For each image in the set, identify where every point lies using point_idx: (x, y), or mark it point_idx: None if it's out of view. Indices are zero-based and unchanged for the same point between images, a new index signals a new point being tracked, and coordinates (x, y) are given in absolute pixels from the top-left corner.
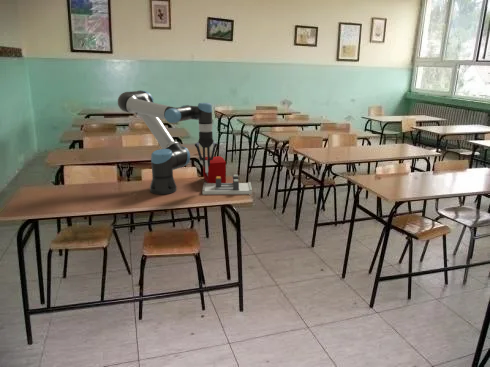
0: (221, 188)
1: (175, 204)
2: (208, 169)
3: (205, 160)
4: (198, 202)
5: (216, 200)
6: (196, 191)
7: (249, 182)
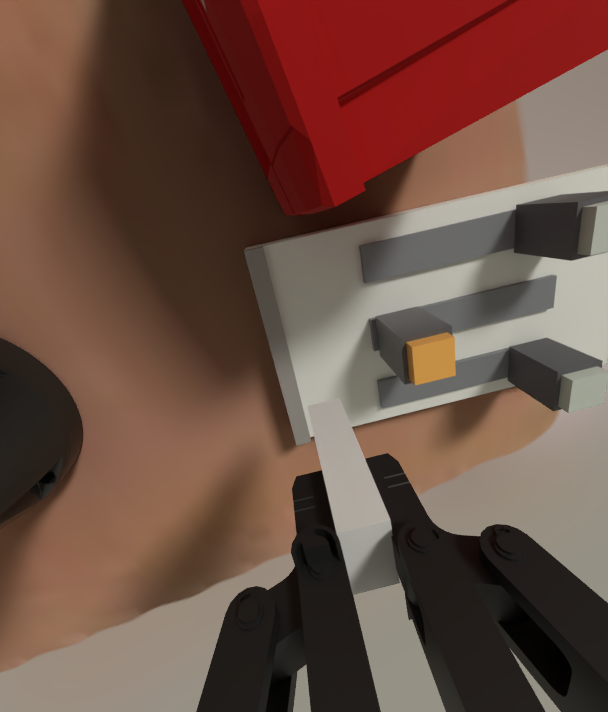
0: None
1: (203, 581)
2: (295, 210)
3: (343, 541)
4: None
5: None
6: (232, 382)
7: None
